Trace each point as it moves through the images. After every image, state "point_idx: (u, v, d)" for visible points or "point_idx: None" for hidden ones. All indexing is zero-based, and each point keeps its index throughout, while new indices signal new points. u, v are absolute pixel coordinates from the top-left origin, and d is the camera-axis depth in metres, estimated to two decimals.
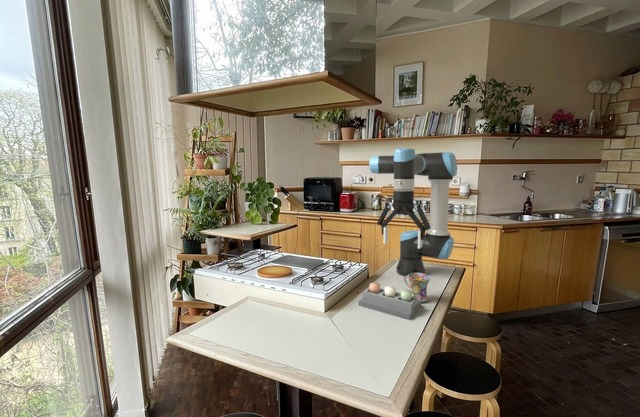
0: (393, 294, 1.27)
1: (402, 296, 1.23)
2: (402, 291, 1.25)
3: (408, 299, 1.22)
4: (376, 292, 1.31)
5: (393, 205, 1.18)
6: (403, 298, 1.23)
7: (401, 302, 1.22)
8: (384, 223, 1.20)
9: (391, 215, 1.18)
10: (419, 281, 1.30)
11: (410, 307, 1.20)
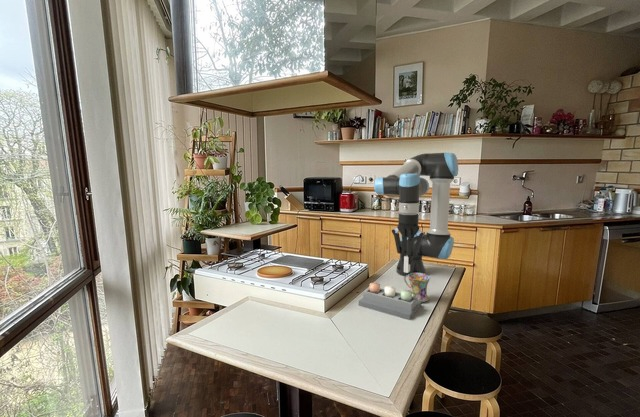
0: (393, 294, 1.27)
1: (402, 296, 1.23)
2: (402, 291, 1.25)
3: (408, 299, 1.22)
4: (376, 292, 1.31)
5: (399, 228, 1.22)
6: (403, 298, 1.23)
7: (401, 302, 1.22)
8: (403, 251, 1.22)
9: (403, 240, 1.21)
10: (419, 281, 1.30)
11: (410, 307, 1.20)
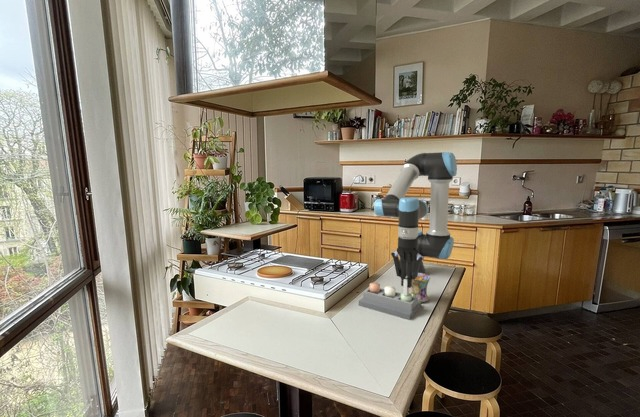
0: (393, 294, 1.27)
1: (402, 299, 1.23)
2: (402, 294, 1.25)
3: None
4: (376, 292, 1.31)
5: (398, 251, 1.23)
6: None
7: (401, 302, 1.22)
8: (402, 274, 1.23)
9: (402, 263, 1.22)
10: (419, 281, 1.30)
11: (410, 307, 1.20)
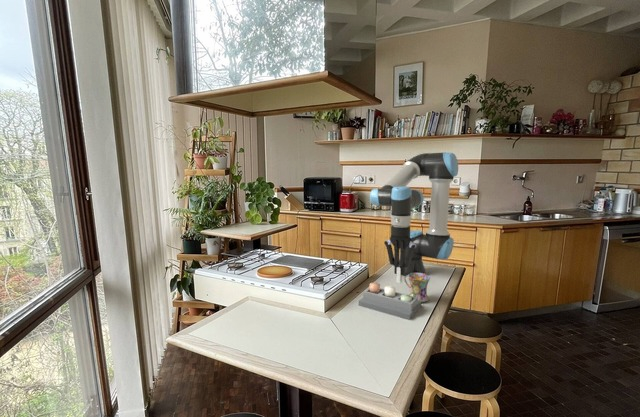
0: (393, 294, 1.27)
1: None
2: (402, 296, 1.25)
3: None
4: (376, 292, 1.31)
5: (391, 240, 1.24)
6: None
7: (401, 302, 1.22)
8: (395, 262, 1.24)
9: (395, 252, 1.24)
10: (419, 281, 1.30)
11: (410, 307, 1.20)
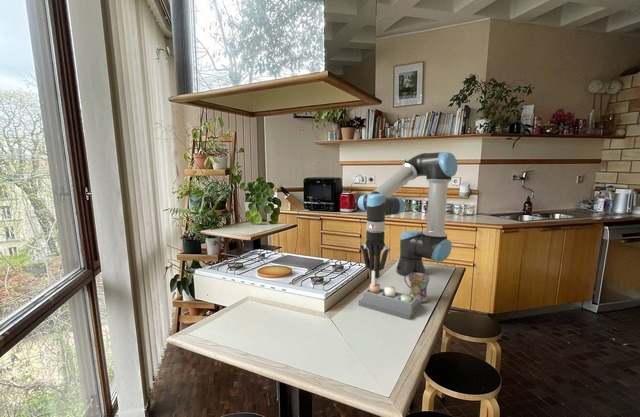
0: (393, 294, 1.27)
1: None
2: (402, 296, 1.25)
3: None
4: (376, 292, 1.31)
5: (366, 244, 1.31)
6: None
7: (401, 302, 1.22)
8: (370, 266, 1.31)
9: (370, 255, 1.30)
10: (419, 281, 1.30)
11: (410, 307, 1.20)
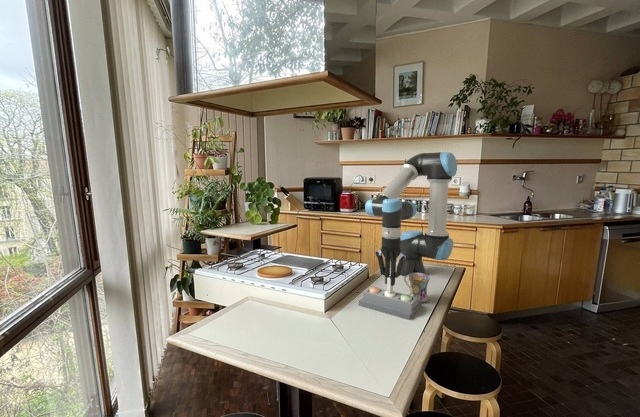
0: None
1: None
2: (402, 296, 1.25)
3: None
4: None
5: (382, 250, 1.27)
6: None
7: (401, 302, 1.22)
8: (386, 273, 1.27)
9: (386, 262, 1.26)
10: (419, 281, 1.30)
11: (410, 307, 1.20)
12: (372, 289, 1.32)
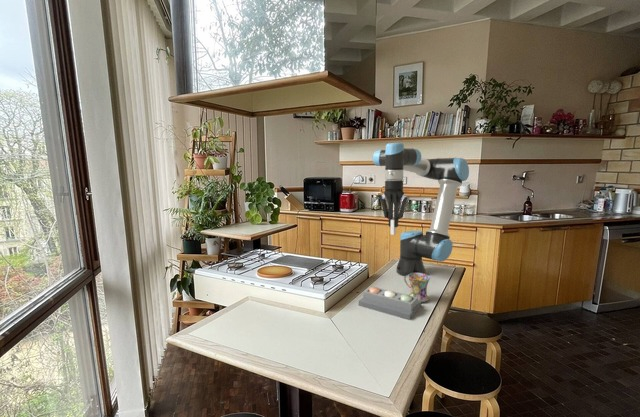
0: None
1: None
2: (402, 296, 1.25)
3: None
4: None
5: (385, 194, 1.33)
6: None
7: (401, 302, 1.22)
8: (389, 215, 1.33)
9: (389, 205, 1.32)
10: (419, 281, 1.30)
11: (410, 307, 1.20)
12: (372, 289, 1.32)
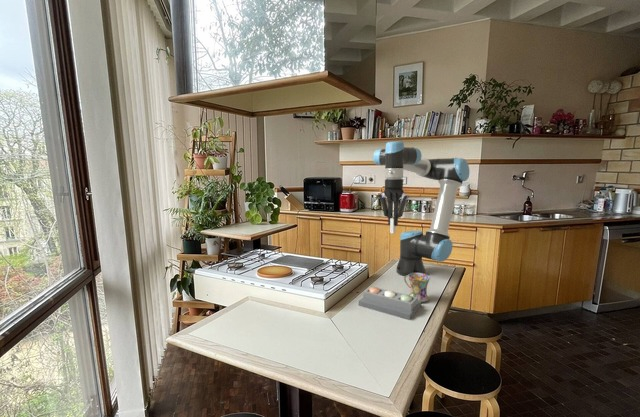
0: None
1: None
2: (402, 296, 1.25)
3: None
4: None
5: (385, 192, 1.33)
6: None
7: (401, 302, 1.22)
8: (389, 214, 1.33)
9: (389, 203, 1.32)
10: (419, 281, 1.30)
11: (410, 307, 1.20)
12: (372, 289, 1.32)
